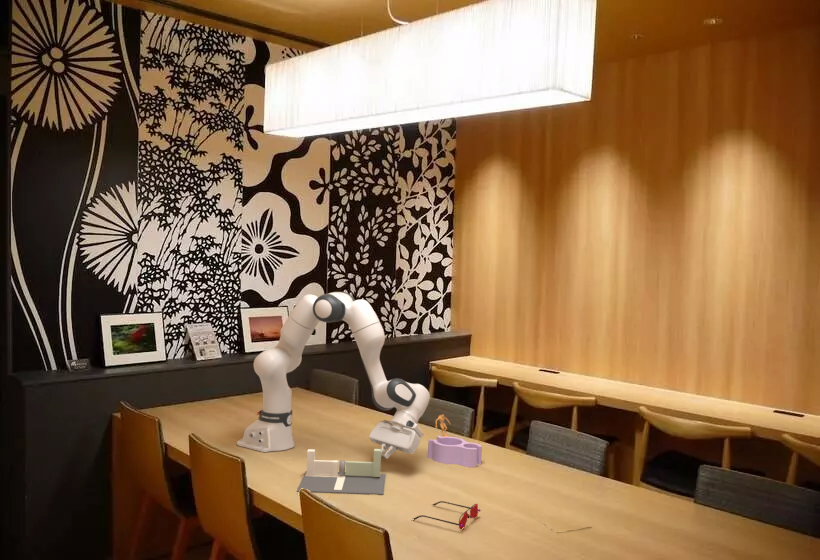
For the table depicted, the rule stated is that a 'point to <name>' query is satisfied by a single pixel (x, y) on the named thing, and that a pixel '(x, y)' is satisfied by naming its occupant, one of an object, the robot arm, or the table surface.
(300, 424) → the table surface
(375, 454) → the gate
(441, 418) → the figurine
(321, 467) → the fixed fence
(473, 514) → the glasses
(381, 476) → the board
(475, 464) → the lilac double-ring holder
